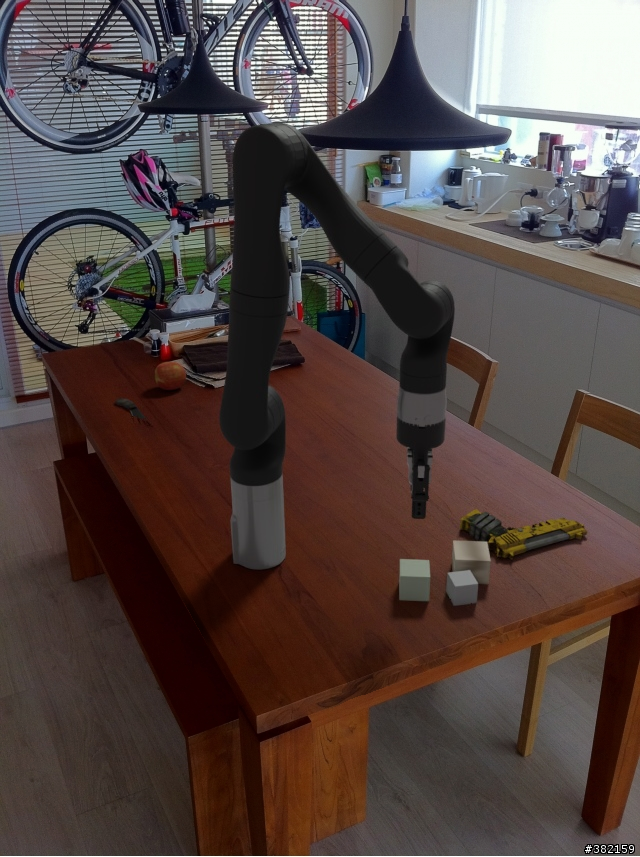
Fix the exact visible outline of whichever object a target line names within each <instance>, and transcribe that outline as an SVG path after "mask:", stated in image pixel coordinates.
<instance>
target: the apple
mask: <svg viewBox="0 0 640 857" xmlns="http://www.w3.org/2000/svg"><path fill="white" fill-rule="evenodd" d="M154 380H155V382H156V384H157V385H156V386H158V387H159V388H160V389H162V390H165V391H175V390H177V389H178V390H179V389H180V388H181V387H182V386H184V384H185V383H186V381H187V372H186V369H185V368H184V366H182V365H181V364H180V363H178V362H175V361H164V362H161V363H160V364H158V365H157V366H156V368H155V370H154Z"/></svg>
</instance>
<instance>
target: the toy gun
mask: <svg viewBox="0 0 640 857" xmlns="http://www.w3.org/2000/svg"><path fill="white" fill-rule="evenodd" d="M502 524H503V522H502V521H501V520H500V519H499V518H496V516H495V515H493V514H490V512H487V511H484V512H483V513H482V512H481V511H479V509H477V508H476V509H474V510H471V511H470V512H469V513H467V514H466V515H464V516H463V517H461V518H460V524H459V525H460V526H459V528H460V530H461V531H462V530H464V531H466V532H468V533H469V536H470V537H472V538H473V539H474V541H481V542H487V544H488V549H489V551H493V552H494V553H495V554H496V553H497V554H496V557H497V558H499V557H502V558H503V559H506V558H509V559H510V560H513V559H514V556H516V555H521V554H523V553H526V552H527V551H530V550H534V549H537V548H541V547H544V546H548V545H551V544H552V545H553V544H554V543H558V542H561V541H566V540H572V539H578V540H582V537H584V536H587V534H588V530H587V529H586V527H585V525H584V524H583V523H581V522H579V521H576V520H574V519H571V520H569V519H567V518H564V517H562V518H556V519H553V518H551V519H547V520H545V522H544V521H539V523H538V524H537V523H532V526H531V525H525V526H522V527H518V528H516V527H511V526H508V527H507V528H506V527H505V526H503V525H502Z"/></svg>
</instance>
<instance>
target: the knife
mask: <svg viewBox="0 0 640 857" xmlns="http://www.w3.org/2000/svg"><path fill="white" fill-rule="evenodd" d="M115 405H117V406H119V405H120V406H119V407H121V406H123V407H122V408H125V409H126V408H127V409H126V410H128V411H129V410H130V411H129V412H130V413H131V416H135V417H137V418H140V419H144V418H145V420H147V417H145V415H144V413H142V412H141V410H140V409H139V408H138V406H137V404H136V403H135V402H133V401H131V400H130V399H128V398H117V399H115Z"/></svg>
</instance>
